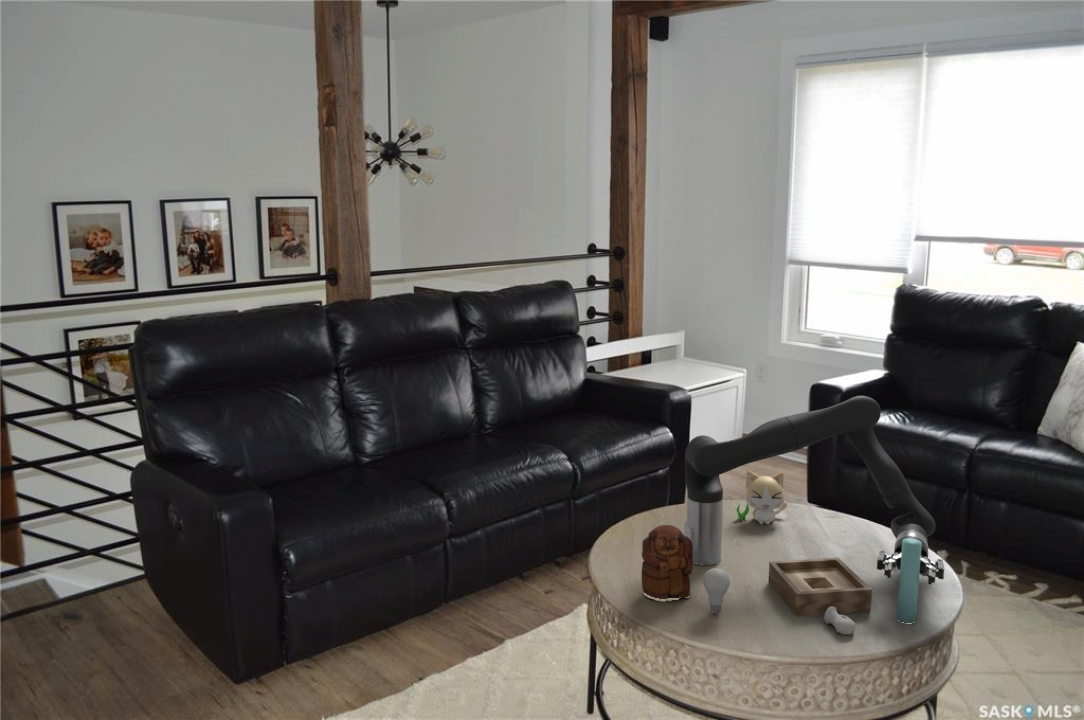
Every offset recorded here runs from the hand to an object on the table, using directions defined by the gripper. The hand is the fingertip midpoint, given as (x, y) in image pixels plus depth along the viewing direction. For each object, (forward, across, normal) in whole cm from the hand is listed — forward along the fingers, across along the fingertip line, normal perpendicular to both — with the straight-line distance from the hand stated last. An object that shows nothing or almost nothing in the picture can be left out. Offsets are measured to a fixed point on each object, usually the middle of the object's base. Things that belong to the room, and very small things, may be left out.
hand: (909, 577), depth 199 cm
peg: (-1, 0, +11) cm, 11 cm away
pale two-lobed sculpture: (+8, -14, +11) cm, 20 cm away
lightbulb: (+12, -41, +11) cm, 44 cm away
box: (-6, -20, +11) cm, 24 cm away
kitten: (-50, -41, +11) cm, 66 cm away
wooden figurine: (+8, -54, +11) cm, 55 cm away
